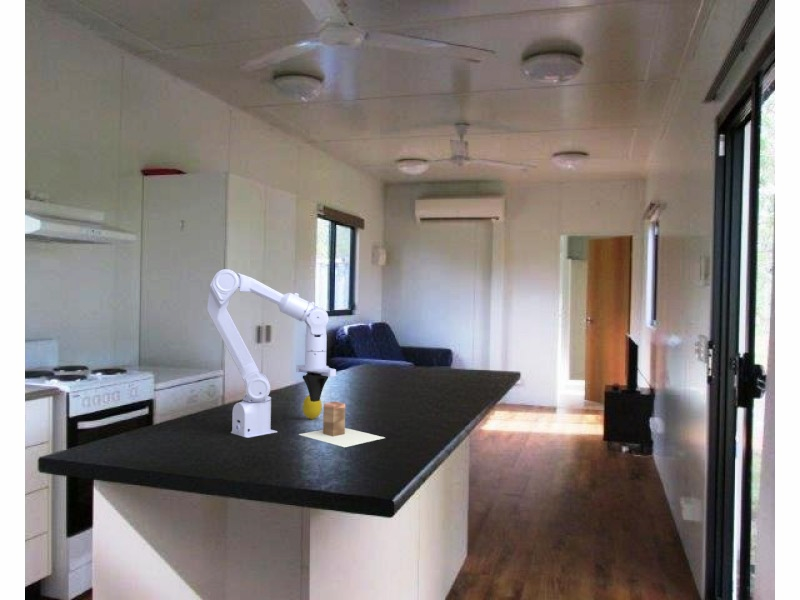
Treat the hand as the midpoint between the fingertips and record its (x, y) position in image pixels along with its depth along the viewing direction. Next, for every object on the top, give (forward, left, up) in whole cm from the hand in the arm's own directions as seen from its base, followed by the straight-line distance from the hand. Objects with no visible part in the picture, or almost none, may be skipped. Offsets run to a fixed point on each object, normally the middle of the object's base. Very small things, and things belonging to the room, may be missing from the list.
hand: (315, 401), depth 156 cm
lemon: (+8, +11, -8) cm, 16 cm away
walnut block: (0, -8, -8) cm, 11 cm away
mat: (0, -11, -8) cm, 14 cm away
